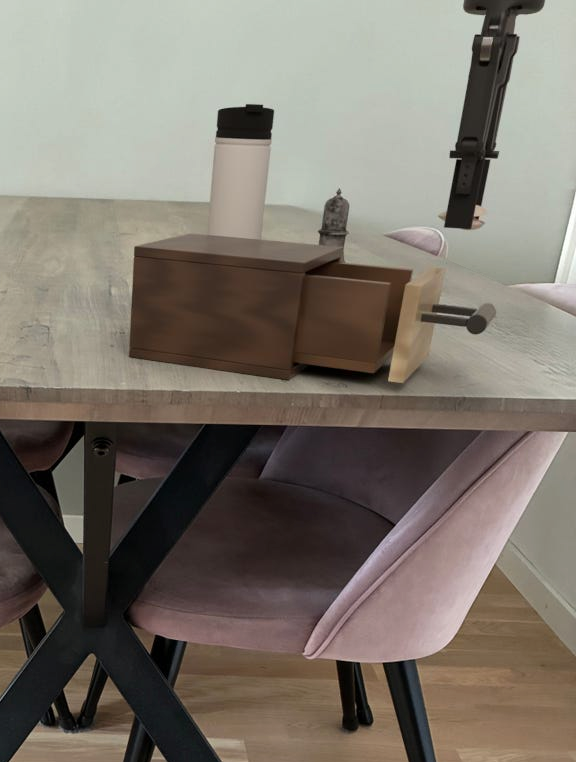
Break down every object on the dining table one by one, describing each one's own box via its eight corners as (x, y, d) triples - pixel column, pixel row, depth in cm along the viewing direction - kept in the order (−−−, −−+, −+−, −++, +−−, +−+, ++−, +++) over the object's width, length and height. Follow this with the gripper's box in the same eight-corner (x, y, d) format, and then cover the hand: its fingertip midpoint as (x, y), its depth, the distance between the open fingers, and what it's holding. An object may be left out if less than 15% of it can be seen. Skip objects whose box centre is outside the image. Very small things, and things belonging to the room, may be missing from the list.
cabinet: (328, 352, 88) (344, 247, 84) (288, 380, 78) (304, 262, 74) (182, 333, 94) (190, 233, 89) (128, 356, 84) (133, 246, 79)
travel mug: (210, 300, 111) (227, 103, 101) (196, 290, 116) (211, 103, 106) (262, 300, 111) (284, 105, 102) (245, 291, 117) (265, 105, 107)
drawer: (487, 364, 82) (507, 274, 79) (468, 392, 73) (490, 293, 70) (280, 337, 89) (290, 253, 86) (240, 360, 80) (250, 268, 77)
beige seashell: (484, 232, 101) (489, 206, 100) (435, 229, 102) (440, 204, 101) (482, 229, 104) (487, 204, 103) (435, 226, 106) (439, 201, 104)
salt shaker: (357, 299, 115) (375, 189, 109) (332, 304, 111) (348, 191, 105) (316, 292, 118) (330, 185, 113) (289, 297, 115) (303, 187, 109)
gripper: (481, -23, 100) (438, 219, 111) (457, -49, 87) (410, 230, 98) (558, -25, 97) (506, 223, 109) (545, -52, 84) (487, 235, 95)
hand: (461, 225), depth 103 cm, fingers closed on beige seashell, 4 cm apart
